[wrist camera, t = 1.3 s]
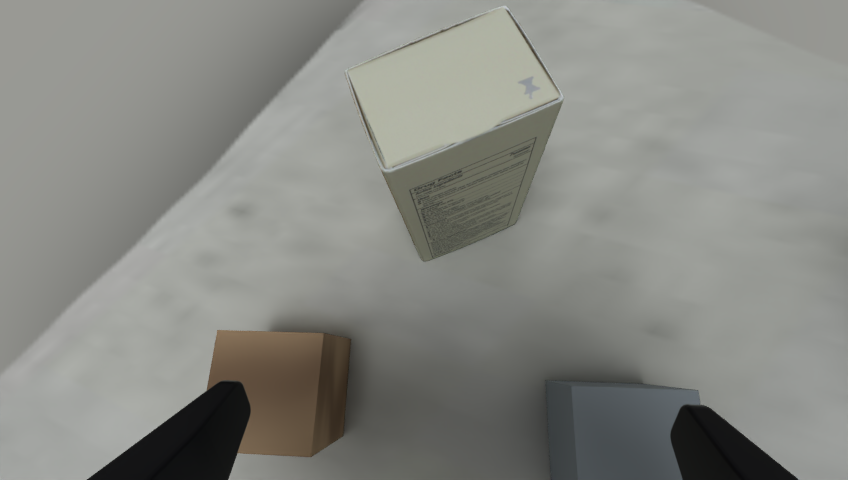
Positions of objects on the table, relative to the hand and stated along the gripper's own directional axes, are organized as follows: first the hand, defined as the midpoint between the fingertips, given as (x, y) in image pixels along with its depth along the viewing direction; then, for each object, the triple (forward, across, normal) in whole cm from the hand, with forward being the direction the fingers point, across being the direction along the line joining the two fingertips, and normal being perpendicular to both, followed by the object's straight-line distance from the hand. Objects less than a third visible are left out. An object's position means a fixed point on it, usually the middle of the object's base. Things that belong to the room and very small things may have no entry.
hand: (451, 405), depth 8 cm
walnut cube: (+9, +8, +10) cm, 16 cm away
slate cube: (+8, -7, +12) cm, 16 cm away
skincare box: (+17, 0, +4) cm, 17 cm away
